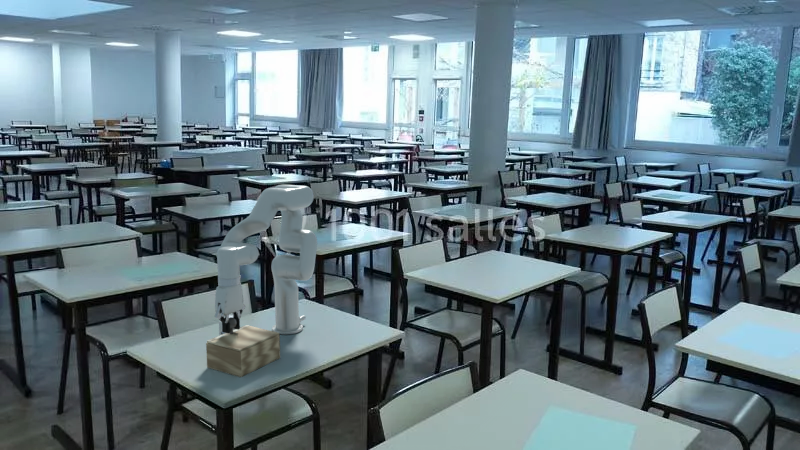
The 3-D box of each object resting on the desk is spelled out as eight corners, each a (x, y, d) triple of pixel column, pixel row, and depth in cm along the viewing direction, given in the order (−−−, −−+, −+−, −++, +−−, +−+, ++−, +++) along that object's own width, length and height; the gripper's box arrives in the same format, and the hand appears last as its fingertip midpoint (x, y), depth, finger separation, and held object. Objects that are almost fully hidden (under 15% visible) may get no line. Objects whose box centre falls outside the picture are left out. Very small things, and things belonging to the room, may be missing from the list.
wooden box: (247, 349, 238) (247, 326, 236) (280, 358, 230) (279, 334, 228) (207, 367, 221) (206, 343, 219) (240, 377, 213) (239, 352, 211)
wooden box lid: (246, 326, 236) (246, 309, 235) (279, 334, 228) (278, 316, 227) (206, 342, 220) (205, 324, 218) (239, 351, 212) (239, 332, 210)
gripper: (238, 275, 232) (240, 322, 236) (203, 285, 218) (205, 335, 221) (253, 277, 229) (255, 326, 232) (219, 288, 214) (221, 339, 218)
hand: (231, 330), depth 227 cm, fingers closed on wooden box lid, 4 cm apart
